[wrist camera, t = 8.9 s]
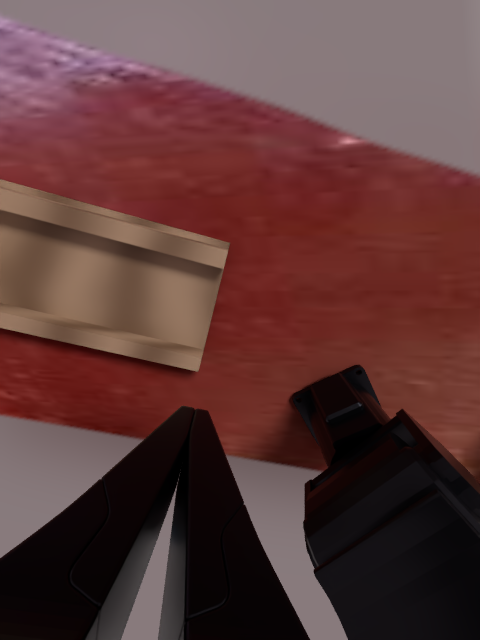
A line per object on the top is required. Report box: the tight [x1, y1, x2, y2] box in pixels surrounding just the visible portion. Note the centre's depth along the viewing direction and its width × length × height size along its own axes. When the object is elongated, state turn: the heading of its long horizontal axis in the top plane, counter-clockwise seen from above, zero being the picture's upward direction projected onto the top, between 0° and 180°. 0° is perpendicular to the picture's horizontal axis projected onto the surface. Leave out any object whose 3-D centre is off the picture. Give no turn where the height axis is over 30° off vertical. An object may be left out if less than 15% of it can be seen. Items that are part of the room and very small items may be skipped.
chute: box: [0, 179, 230, 372], centre depth 18 cm, size 25×10×2 cm, turn 75°
